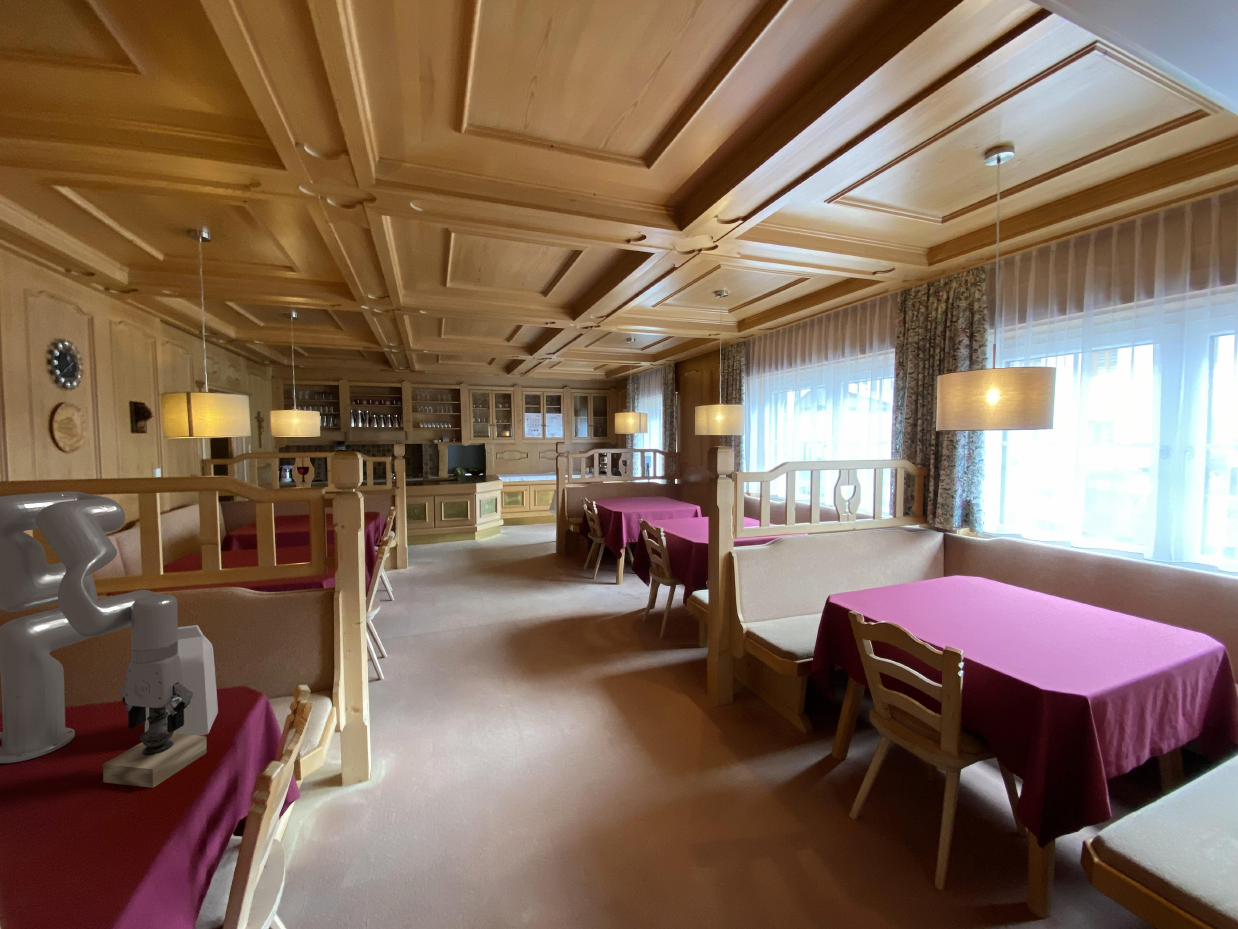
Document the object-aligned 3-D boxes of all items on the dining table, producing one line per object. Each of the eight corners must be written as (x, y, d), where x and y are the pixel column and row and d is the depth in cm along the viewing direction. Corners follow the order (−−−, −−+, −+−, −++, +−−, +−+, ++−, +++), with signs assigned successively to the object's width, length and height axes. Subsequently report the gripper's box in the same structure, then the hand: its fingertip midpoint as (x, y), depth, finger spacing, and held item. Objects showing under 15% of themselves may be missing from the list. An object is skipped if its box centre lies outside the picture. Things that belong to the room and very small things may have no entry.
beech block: (103, 782, 106) (103, 764, 106) (161, 748, 118) (161, 731, 118) (153, 787, 105) (152, 769, 105) (206, 753, 117) (206, 736, 117)
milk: (143, 747, 118) (142, 639, 117) (159, 723, 128) (157, 624, 127) (208, 733, 124) (207, 631, 123) (218, 712, 134) (217, 617, 133)
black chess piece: (135, 759, 108) (134, 704, 107) (146, 744, 113) (145, 692, 113) (170, 752, 110) (169, 699, 110) (179, 737, 116) (178, 687, 115)
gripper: (102, 656, 108) (103, 733, 108) (172, 662, 106) (174, 740, 106) (139, 642, 115) (140, 715, 116) (206, 648, 113) (206, 721, 114)
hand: (156, 727), depth 111 cm, fingers open, 9 cm apart
